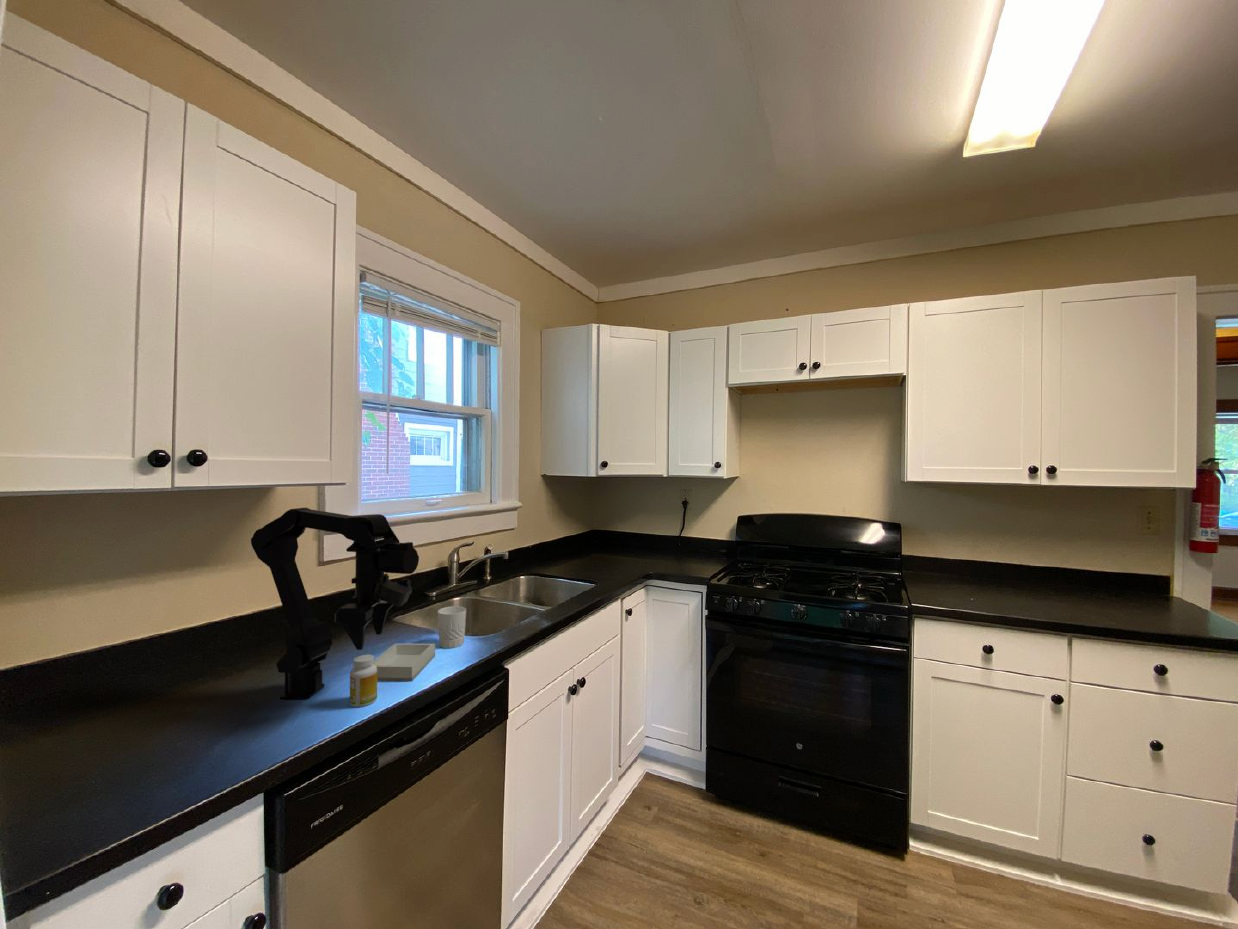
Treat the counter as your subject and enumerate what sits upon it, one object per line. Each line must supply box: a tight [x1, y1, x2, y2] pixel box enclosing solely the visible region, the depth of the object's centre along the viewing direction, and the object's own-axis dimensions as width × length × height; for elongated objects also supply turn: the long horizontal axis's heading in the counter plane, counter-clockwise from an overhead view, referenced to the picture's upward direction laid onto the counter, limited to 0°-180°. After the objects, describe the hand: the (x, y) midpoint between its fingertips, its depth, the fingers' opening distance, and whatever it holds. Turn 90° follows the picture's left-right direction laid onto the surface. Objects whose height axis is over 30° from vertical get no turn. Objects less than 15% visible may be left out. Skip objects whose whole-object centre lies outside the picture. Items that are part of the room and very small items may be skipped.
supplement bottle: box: [349, 654, 378, 708], centre depth 108 cm, size 5×5×10 cm
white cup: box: [437, 605, 467, 649], centre depth 142 cm, size 8×8×10 cm
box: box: [373, 642, 436, 682], centre depth 125 cm, size 11×15×4 cm
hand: (369, 641), depth 108 cm, fingers open, 9 cm apart
